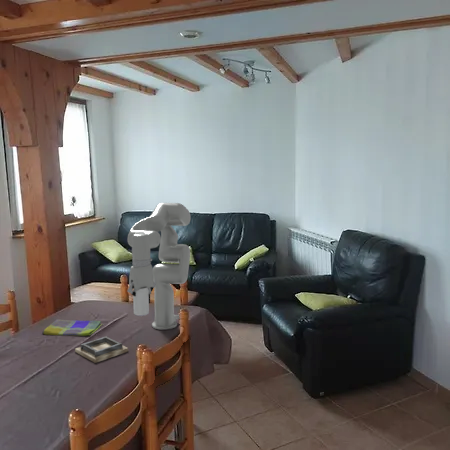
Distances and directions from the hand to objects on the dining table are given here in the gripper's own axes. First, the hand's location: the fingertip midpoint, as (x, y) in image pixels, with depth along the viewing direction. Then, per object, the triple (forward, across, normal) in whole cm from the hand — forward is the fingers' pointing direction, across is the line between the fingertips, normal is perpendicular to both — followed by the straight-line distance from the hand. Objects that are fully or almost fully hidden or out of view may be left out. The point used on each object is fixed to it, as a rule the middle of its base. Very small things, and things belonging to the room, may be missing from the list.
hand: (142, 303), depth 192 cm
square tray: (+21, +13, -12) cm, 27 cm away
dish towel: (+22, +8, -46) cm, 51 cm away
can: (+4, +1, 0) cm, 5 cm away
